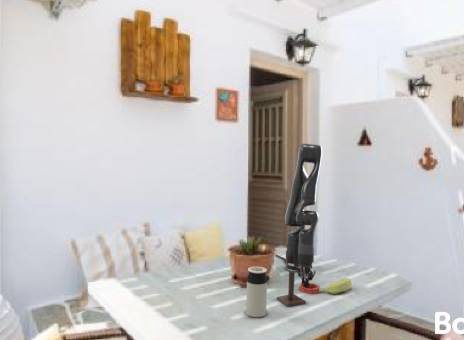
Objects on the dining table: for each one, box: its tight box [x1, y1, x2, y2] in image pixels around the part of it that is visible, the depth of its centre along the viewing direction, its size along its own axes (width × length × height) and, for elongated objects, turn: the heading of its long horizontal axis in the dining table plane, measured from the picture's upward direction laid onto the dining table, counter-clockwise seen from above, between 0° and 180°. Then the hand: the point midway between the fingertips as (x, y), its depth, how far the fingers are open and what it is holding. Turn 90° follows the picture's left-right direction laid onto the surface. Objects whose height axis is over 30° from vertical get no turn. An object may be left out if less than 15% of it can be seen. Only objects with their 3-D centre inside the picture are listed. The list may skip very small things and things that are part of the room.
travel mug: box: [245, 266, 268, 318], centre depth 154 cm, size 8×8×18 cm
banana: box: [319, 276, 353, 295], centre depth 185 cm, size 14×6×20 cm
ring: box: [299, 282, 321, 295], centre depth 182 cm, size 9×9×2 cm
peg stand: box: [276, 270, 307, 308], centre depth 168 cm, size 9×9×13 cm
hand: (304, 287), depth 186 cm, fingers closed on ring, 1 cm apart
